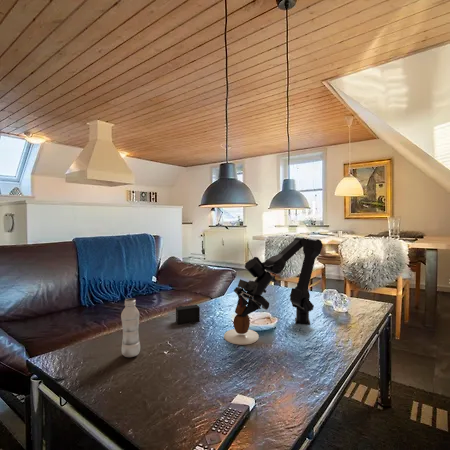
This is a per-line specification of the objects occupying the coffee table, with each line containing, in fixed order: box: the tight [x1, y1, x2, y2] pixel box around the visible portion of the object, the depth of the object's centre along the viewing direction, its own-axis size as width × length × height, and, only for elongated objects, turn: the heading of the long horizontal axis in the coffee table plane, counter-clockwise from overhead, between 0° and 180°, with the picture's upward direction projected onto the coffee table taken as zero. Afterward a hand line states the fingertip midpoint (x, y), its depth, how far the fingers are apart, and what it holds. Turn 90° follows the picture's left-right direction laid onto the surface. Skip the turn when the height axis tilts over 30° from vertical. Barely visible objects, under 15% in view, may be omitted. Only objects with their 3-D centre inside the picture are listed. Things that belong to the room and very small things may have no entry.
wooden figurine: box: [233, 297, 251, 334], centre depth 120 cm, size 7×6×15 cm
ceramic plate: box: [223, 328, 260, 346], centre depth 121 cm, size 14×14×1 cm
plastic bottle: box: [120, 298, 141, 358], centre depth 105 cm, size 6×7×20 cm
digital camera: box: [175, 304, 201, 326], centre depth 139 cm, size 10×5×7 cm, turn 113°
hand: (238, 314), depth 120 cm, fingers closed on wooden figurine, 4 cm apart
